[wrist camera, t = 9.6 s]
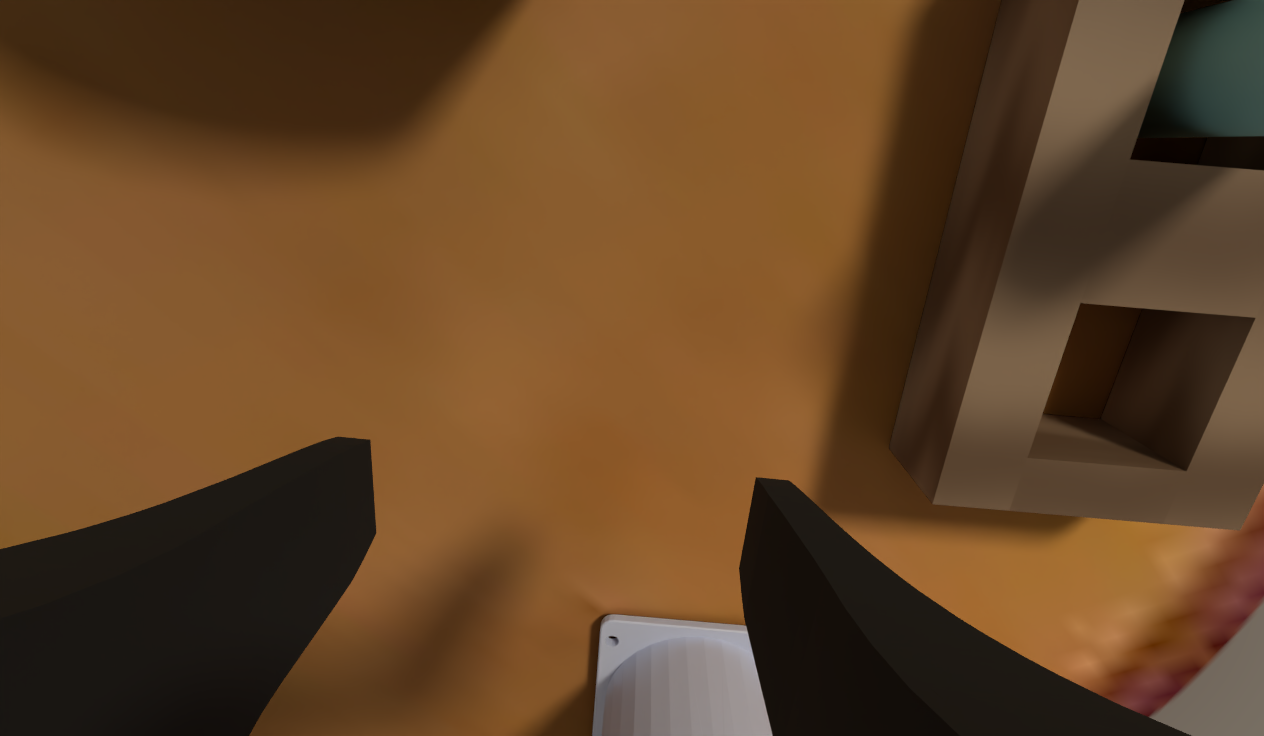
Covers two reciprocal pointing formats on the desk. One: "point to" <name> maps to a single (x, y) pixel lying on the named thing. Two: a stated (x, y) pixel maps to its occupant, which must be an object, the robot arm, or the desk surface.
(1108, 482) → the hole block
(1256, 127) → the peg
